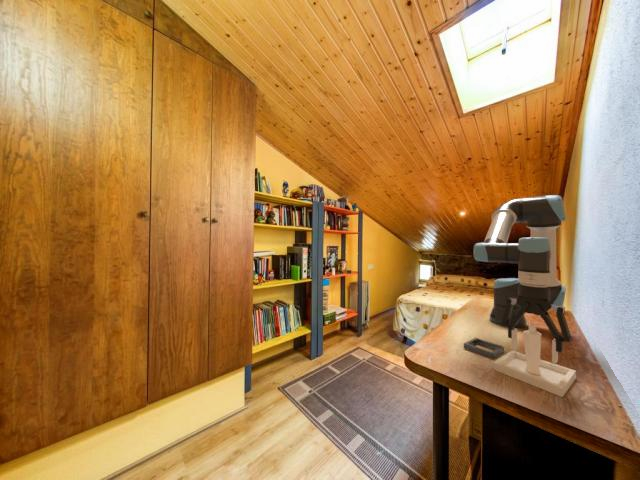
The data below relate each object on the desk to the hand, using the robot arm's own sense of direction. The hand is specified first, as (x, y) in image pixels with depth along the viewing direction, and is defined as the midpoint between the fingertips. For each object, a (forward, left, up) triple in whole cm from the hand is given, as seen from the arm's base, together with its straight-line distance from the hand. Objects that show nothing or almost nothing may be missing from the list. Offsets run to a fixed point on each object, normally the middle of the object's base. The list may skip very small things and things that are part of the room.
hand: (533, 354), depth 74 cm
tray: (0, 0, -6) cm, 6 cm away
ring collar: (-5, -16, -6) cm, 18 cm away
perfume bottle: (0, 0, -6) cm, 6 cm away
